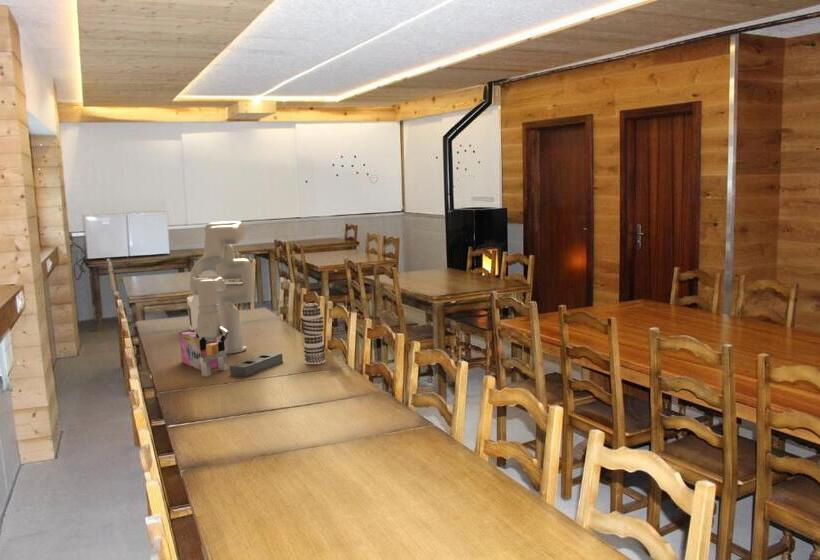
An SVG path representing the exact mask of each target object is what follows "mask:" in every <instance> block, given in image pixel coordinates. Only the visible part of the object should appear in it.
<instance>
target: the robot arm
mask: <svg viewBox="0 0 820 560" xmlns="http://www.w3.org/2000/svg"><path fill="white" fill-rule="evenodd" d="M243 223H244V222H242V221H240V220H232V221H215V222H214V221H213V222H209V223H207V224H206V225H205V226H204V232H205V235H204V244H203V245H204V246H203V255H202V256H201V257H200V258H199V259H198V260H196V262H195V264H194V265H193V266H192V268H191V270H190V275H189V276H190V277H189V292H191V293H192V294H194V295H198V300H199V307H198V309H199V311H200V313H198V320H197V328H196V329H195V330H194V332H195V334H196V337H197V338H198V341H200V350H201V351H202V350H206V345H207V344H206V340H205V338H215V337H216V339H217V343H218V351H219V352H221V351H224V350H227V355H228V354H238V353H241V352H245V351H246V350H247V346H246V345H244V344H243V333H242V330H243V329H242V323H241V322H242V321H241V313H240V310H239V309H238V307H237V306H236V305H235V304H245V303H251V302H253V300H254V297H255V288H254V277H253V276H254V275H253V266H252V263H251V261H250V260H249V259H248V258H245V257H244V258H243V257H242V258H235V248H234V247H233V245H237V244H239V243H241V241H243V239H244V238H245V233H246V229H245V225H244V224H243ZM213 267H215V270H216V275H215V276H214V275H213V276H212V275H210V276H201V275H202V274H203V273H204V272H205V271H207V270H208V269H211V268H213ZM233 280H234V281H235V280H236V281H237V280H241V281H240V282H226V281H233Z"/></svg>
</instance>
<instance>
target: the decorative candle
mask: <svg viewBox="0 0 820 560" xmlns="http://www.w3.org/2000/svg"><path fill="white" fill-rule="evenodd" d="M301 310H302V317H301V318H300V320H301V321H302V322H301V323H300V324H301V325H302V326H301V329H302V334H303V335H302V336H303V338H304V342H303V343H304V345H303V346H304V347H303V349H304V353H305V354H304V360H305V363H306V364H305V365H307V364H318V365H322V364H325V363H326V360H325V359H326V353H325V352H324V351H325V345H324V340H323V339H324V338H323V336H324V329H323V328H324V325H323V323H324V320H323V319H324V317H323V316H322V314H321V306H320V305H319V304H318V303H315V302H309V303H308V302H307V303H305V304H304V305H303V306H302V307H301ZM324 362H325V363H324ZM321 363H322V364H321Z"/></svg>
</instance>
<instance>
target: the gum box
mask: <svg viewBox="0 0 820 560" xmlns="http://www.w3.org/2000/svg"><path fill="white" fill-rule="evenodd" d="M178 333H179V345H180V346H179V347H180V348H179V349H180V358H181V363H184V364H185V365H188V366H190V367H192V366H193V367H192V368H195V369H197V370H200V371H201V363H200V360H199V358H200V357H203V356H205V355H207V351H206V350H202V351H201V350H200V341H198V338H197V337H196V334H195V332H194V330H190V331H186V332H181V331H179V332H178ZM205 340H206V344H207V345H208V344H211V343H217V342H218V340H217V338H216V337H215V338H205ZM217 368H219V366H218V358H216V359H213V360H210V370H211V369H217Z"/></svg>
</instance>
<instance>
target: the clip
mask: <svg viewBox="0 0 820 560" xmlns="http://www.w3.org/2000/svg"><path fill="white" fill-rule="evenodd" d="M206 351H207V355H205V356H203V357H200V358H199V360H200V363H201V370H200V371H201V377H211V376H212V372H211V371H212V370H211V369H210V360H213V359H216V358H218V366H219V367H218V371H227V370H228V359H227V355H228V354H227V350H224V351H221V352H219V351H218V343H211V344H208V345H206Z"/></svg>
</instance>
